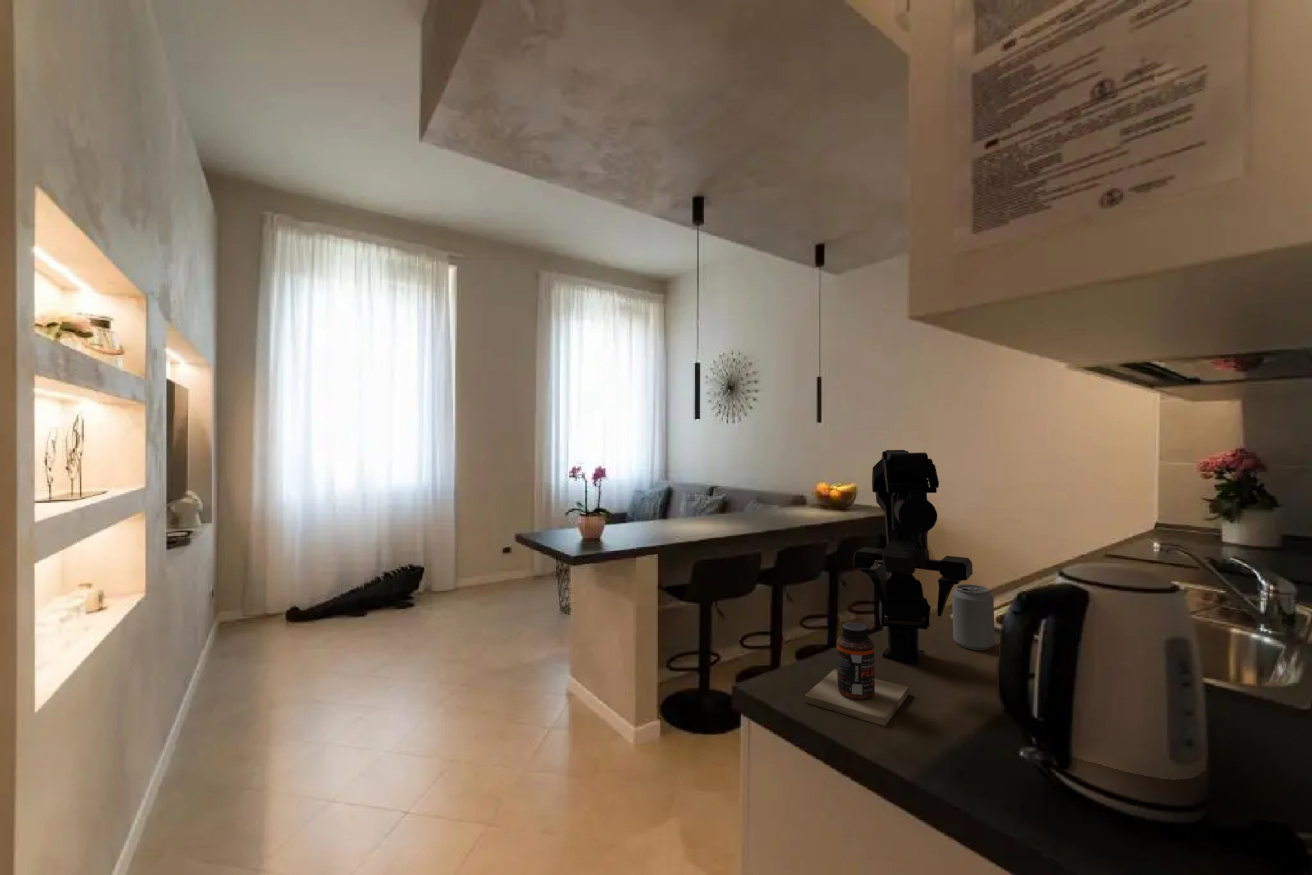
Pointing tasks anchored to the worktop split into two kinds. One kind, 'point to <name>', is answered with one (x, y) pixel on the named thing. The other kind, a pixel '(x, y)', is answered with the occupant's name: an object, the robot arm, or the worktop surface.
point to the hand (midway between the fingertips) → (911, 611)
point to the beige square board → (869, 709)
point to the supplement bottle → (855, 662)
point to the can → (973, 617)
